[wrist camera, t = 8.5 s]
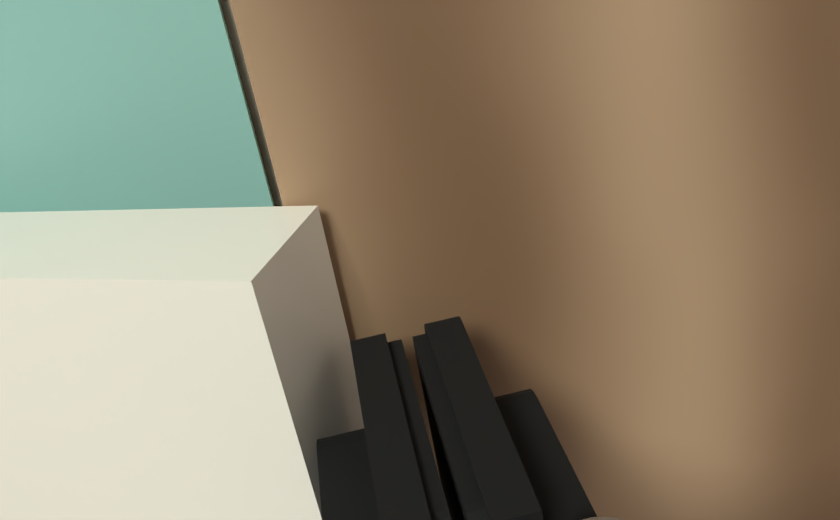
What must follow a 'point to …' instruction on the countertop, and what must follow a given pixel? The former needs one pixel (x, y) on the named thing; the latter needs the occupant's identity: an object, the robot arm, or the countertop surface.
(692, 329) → the wooden block
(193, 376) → the tile
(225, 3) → the countertop surface
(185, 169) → the mat
